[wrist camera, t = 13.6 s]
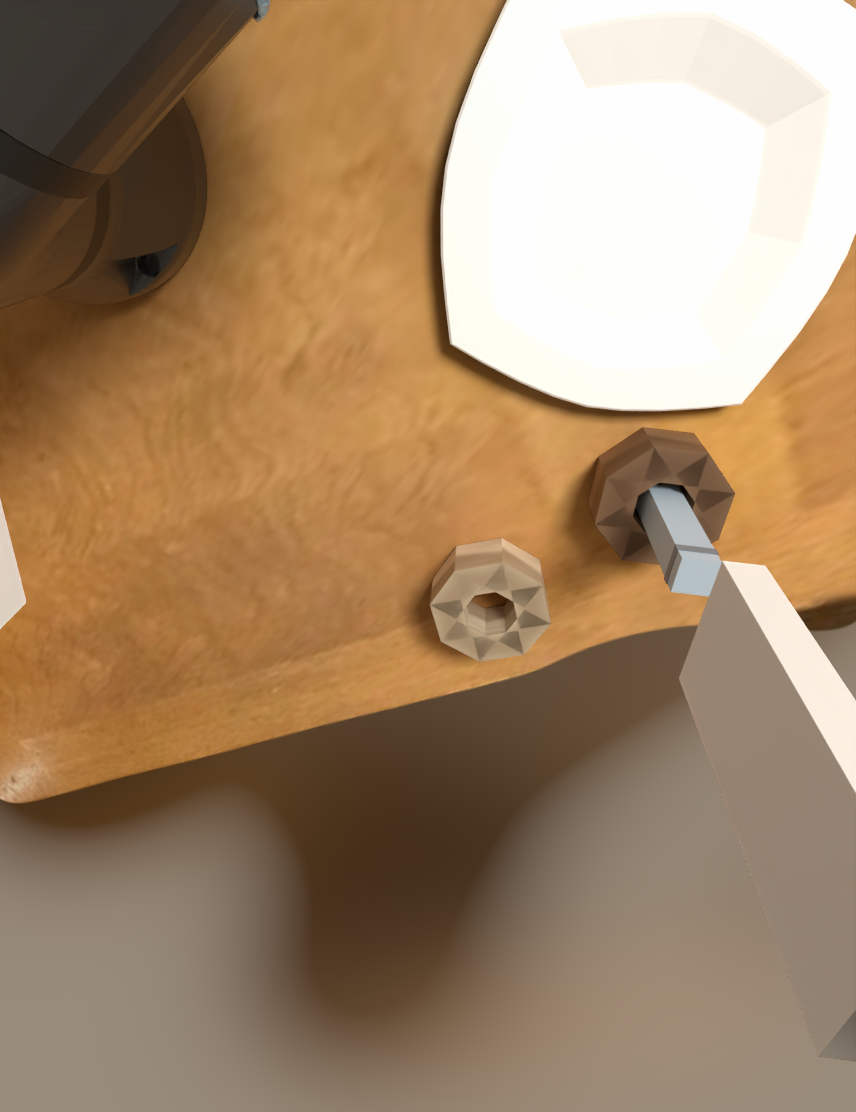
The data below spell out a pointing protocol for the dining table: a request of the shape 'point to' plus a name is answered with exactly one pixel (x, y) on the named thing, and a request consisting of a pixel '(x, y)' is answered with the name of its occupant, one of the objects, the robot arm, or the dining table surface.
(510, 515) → the dining table surface
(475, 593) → the maple bead
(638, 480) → the walnut bead
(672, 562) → the long pale blue brick
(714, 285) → the plate
